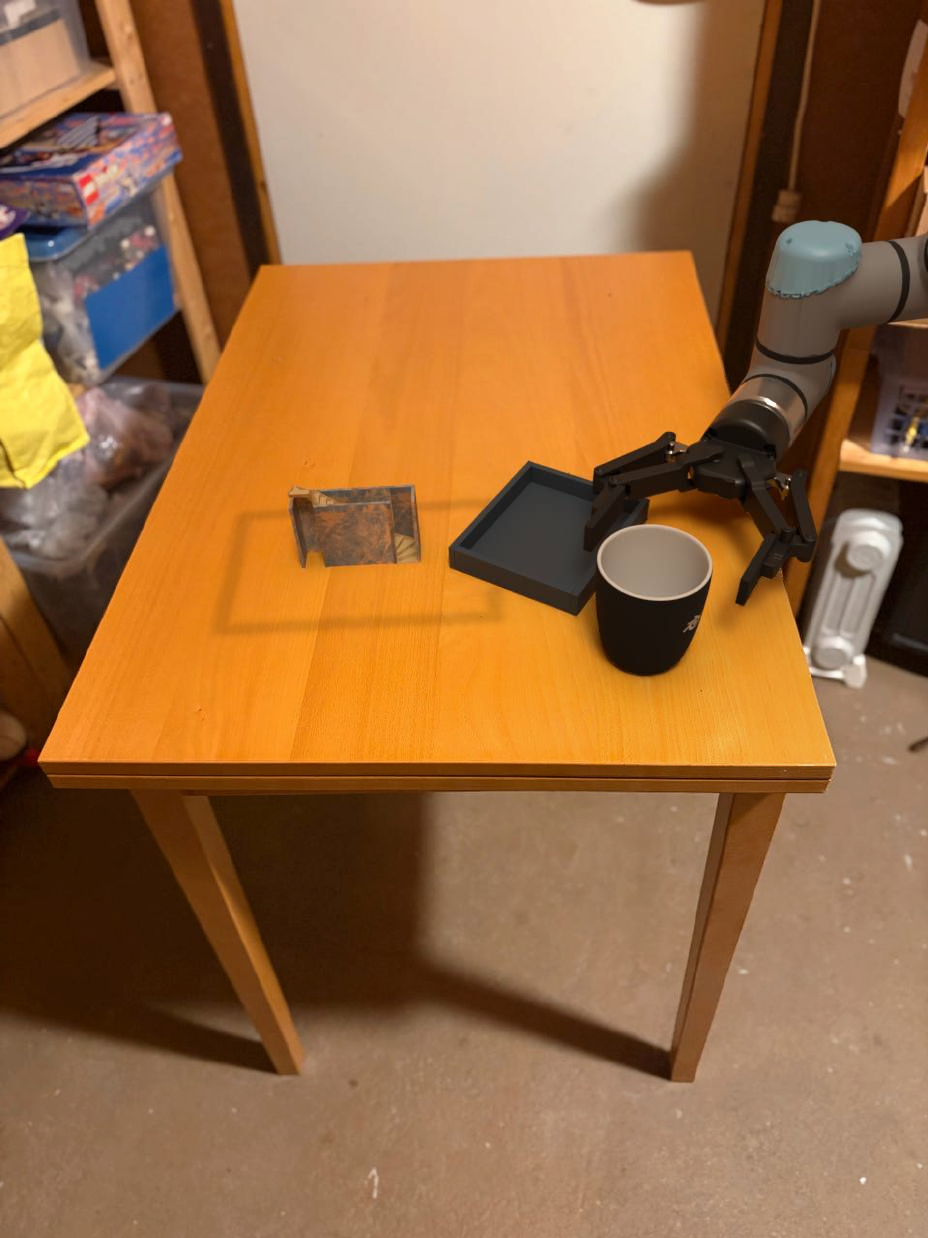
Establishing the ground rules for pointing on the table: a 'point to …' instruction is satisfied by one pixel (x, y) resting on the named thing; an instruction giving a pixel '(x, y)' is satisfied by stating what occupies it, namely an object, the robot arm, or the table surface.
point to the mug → (650, 596)
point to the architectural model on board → (356, 524)
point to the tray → (539, 538)
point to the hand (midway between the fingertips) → (662, 565)
